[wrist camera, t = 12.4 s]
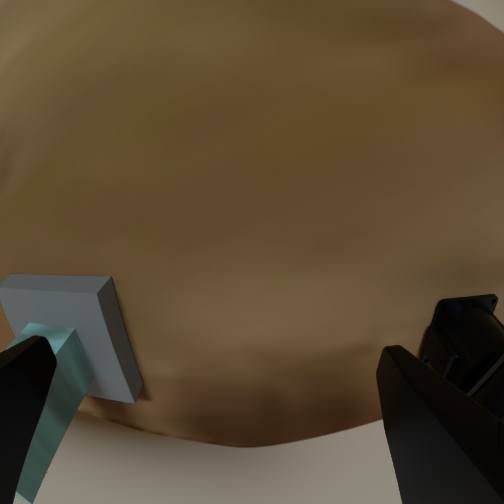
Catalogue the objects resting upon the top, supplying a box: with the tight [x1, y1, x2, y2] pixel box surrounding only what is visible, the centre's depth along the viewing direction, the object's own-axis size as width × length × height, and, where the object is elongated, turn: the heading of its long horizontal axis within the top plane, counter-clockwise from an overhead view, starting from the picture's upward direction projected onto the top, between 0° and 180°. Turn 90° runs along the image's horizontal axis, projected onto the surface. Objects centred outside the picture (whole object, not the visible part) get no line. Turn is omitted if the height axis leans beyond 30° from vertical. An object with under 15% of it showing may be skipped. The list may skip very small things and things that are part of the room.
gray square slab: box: [0, 274, 143, 404], centre depth 23 cm, size 11×11×2 cm
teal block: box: [6, 323, 95, 504], centre depth 16 cm, size 5×5×13 cm
